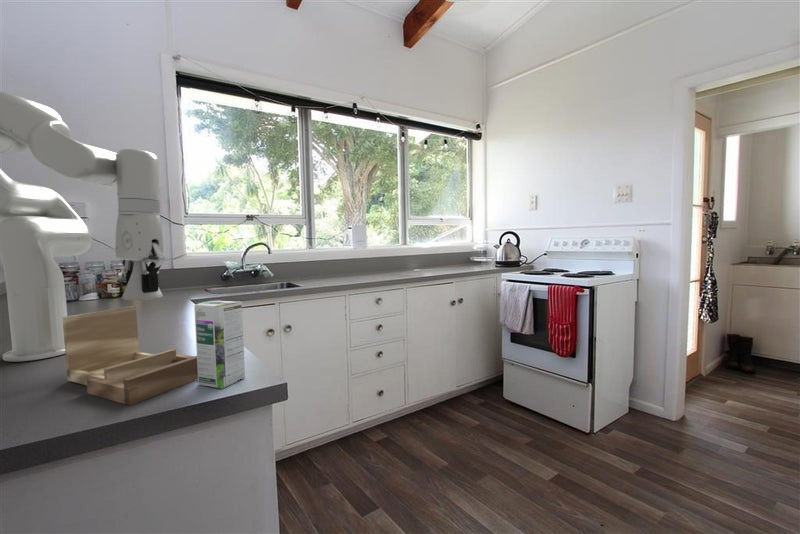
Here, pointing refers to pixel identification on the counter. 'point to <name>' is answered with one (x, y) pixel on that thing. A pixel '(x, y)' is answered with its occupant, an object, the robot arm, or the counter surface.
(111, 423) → the counter surface
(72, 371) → the wooden tablet stand
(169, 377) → the bay
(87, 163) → the robot arm
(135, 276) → the flask
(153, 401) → the counter surface
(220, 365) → the syrup box
